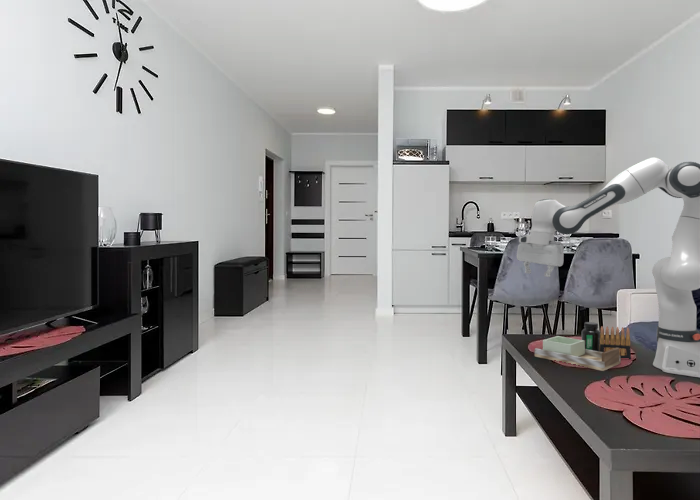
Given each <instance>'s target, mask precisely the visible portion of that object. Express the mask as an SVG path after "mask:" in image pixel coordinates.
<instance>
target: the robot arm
mask: <svg viewBox="0 0 700 500" xmlns="http://www.w3.org/2000/svg"><path fill="white" fill-rule="evenodd" d="M657 188H658V189H660V190H661V191H663V192H664V193H665V194H667V195H669V197H672V198H675V199H682V200H683V208H682V211H681V213H680V216H679V218H678V221H677V222H676V225H675V229H674V231H673V234H672V236H671V241H672V244H671V245H672V247H671V252H670V256H667V257H663V258H661V259H659V260H656V262H655V263H654V265H653V266H652V270H651V271H652V277H653V279H654V284H655V291H656V295H657V302H658V326H657V328H656V341H657V347H656V351H655V352H656V353H655V357H654V359H653V363H652V366H653V367H655V368H657V369H659V370H662V372H664V373H668V374H675V375H679V376H688V377H692V378H693V377H694V378H700V330H698V329H697V308H698V307H697V305H696V303H695V300H694V297H693V291H696V290H699V289H700V163H698V162H694V161H684V162H681V163H679V164H677V165H675V166H674V167H673V166H669V165H667V163H666V162H665V161H664V160H662V159H660V158H658V157H648V158H647V159H644V160H642V161H640V162H638V163H636V164H634V165H631V166H630V167H628V168H626V169H625V170H623V171H621V172H620V173H619V174H617V175H615V176H614V177H613V178H612V179H611V180H610V181H609V182H608V183H606V185H605V186H604V187H603V188H602V189H601V190H599V191H598V192H596V193H595V194H593V195H592V196H590V197H588V198H586V199H585V200H583V201H581V202H579V203H577V204H575V205H574V204H573V205H569V206H568V205H567V206H566V205H564V204H562V203H560V202H559V201H558V200H557V199H554V198H546V199H545V198H544V199H540V200H537V201H536V202H535V203H534V206H533V208H532V215H531V228H530V230H529V234H527V235H524V236H520V237H519V238H518V242H519V244H518V245H517V250H516V259H517V261H519V262H523V266H524V270H525V271H524V273H525V274H531V273H532V269H531V268H530V265H531V263H532V264H540V265H545V266H546V265H547V266H546V268H547V270H546V271H544V273H543V276H544V277H547V278H550V277H551V273H552V272H553V271H554V269H555V267H562V266H563V265H564V256H565V255H564V248H565V247H564V245H563V243H562V242H561V241H554V240H555V232H558V233H559V234H561V235H568V236H569V235H572V234H575V233H577V232H578V231H579V230H580V229H581V227H583V224H584V223H585V222H586V221H587V220H588V219H591V218H592V217H593V216H595V215H597V214H599V213H600V212H602V211H604V210H606V209H608V208H610V207H613V206H616V205H621V204H627V203H630V202H632V201H634V200H637V199H639V198H640V197H642V196H644V195H645V194H647V193H650V192H651V191H652V190H655V189H657Z"/></svg>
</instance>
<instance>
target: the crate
mask: <svg viewBox="0 0 700 500" xmlns="http://www.w3.org/2000/svg"><path fill="white" fill-rule="evenodd" d="M542 350H547V351H552V352H557V353H562V354H567V355H572V356H577V357H578V356H581V355H583V354H585V341H584V340H582V339H577V338H571V337H567V336H566V337H565V336H560V335H556V336H553V337H549V338H545V339H543V340H542Z"/></svg>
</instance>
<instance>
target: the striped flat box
mask: <svg viewBox="0 0 700 500" xmlns="http://www.w3.org/2000/svg"><path fill="white" fill-rule="evenodd" d="M534 357H536V358H540V359H545V360H549V361H554V360H556V361H555V362H559V361H562V362H561V363H564V362H566V363H565V364H568V363H571V364H570V365H573V364H576V365H575V366H578V365H580V366H579V367H582V366H584V367H583V368H587V367H588V368H587V369H592V370H597V371H601V372H605V371H607V370H608V369H611V368H613V367H616V366H618V365H621V364H620V363H621V362H622V361H621V360H622V359H621V356H620V355H619V348H617V347H616V348H614V349H611V350H608V351H606V352H605V351H604V352H599V351H593V350H588V349H585V354H583V355H581V356H578V357H577V356H572V355H567V354H562V353H557V352H552V351H547V350H543V348H542V349H541V348H534Z"/></svg>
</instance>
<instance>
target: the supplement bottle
mask: <svg viewBox="0 0 700 500" xmlns="http://www.w3.org/2000/svg"><path fill="white" fill-rule="evenodd" d="M583 327H584V328H583V329H582V330H581V340H584V341H585V349H588V350H593V351H599V346H600V330H599V323H598V322H593V321H592V322H591V321H585V322H584V326H583Z"/></svg>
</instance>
